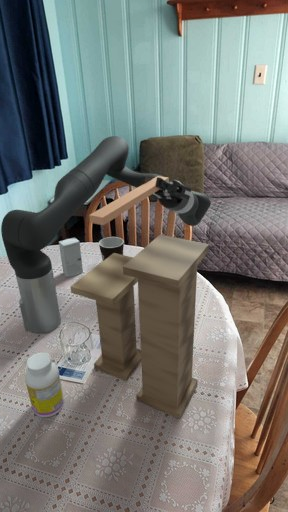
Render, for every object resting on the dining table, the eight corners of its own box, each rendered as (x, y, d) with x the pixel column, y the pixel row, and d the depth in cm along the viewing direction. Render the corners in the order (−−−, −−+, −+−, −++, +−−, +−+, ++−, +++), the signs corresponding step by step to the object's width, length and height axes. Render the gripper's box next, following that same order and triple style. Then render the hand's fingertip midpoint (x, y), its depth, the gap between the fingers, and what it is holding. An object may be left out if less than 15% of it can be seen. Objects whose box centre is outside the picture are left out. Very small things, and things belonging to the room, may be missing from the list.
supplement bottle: (33, 396, 78) (22, 351, 72) (64, 390, 80) (55, 346, 74) (32, 422, 73) (20, 376, 67) (65, 415, 74) (56, 369, 68)
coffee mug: (124, 273, 124) (123, 247, 119) (99, 273, 124) (97, 248, 120) (126, 257, 134) (125, 233, 130) (103, 257, 135) (101, 233, 130)
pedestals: (120, 336, 95) (111, 216, 79) (206, 366, 85) (215, 235, 69) (78, 383, 81) (57, 250, 65) (175, 426, 71) (178, 280, 55)
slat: (157, 182, 88) (157, 176, 87) (168, 183, 87) (168, 177, 86) (90, 222, 66) (89, 215, 66) (103, 225, 65) (102, 217, 64)
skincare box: (67, 277, 122) (62, 246, 117) (62, 272, 126) (57, 241, 120) (84, 272, 125) (80, 241, 120) (78, 267, 129) (74, 236, 123)
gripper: (198, 215, 94) (175, 201, 78) (150, 207, 100) (120, 193, 84) (204, 187, 94) (182, 167, 78) (156, 181, 100) (127, 161, 84)
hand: (150, 180), depth 81 cm, fingers closed on slat, 3 cm apart
